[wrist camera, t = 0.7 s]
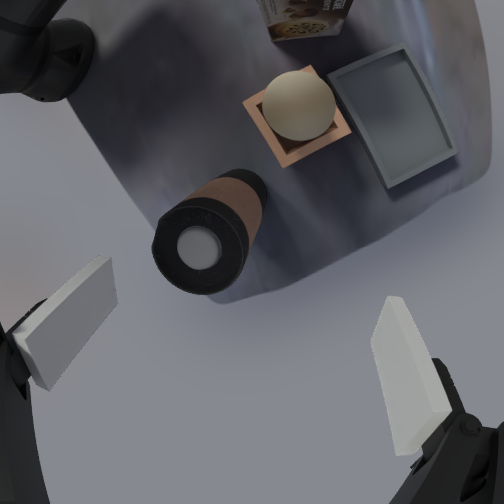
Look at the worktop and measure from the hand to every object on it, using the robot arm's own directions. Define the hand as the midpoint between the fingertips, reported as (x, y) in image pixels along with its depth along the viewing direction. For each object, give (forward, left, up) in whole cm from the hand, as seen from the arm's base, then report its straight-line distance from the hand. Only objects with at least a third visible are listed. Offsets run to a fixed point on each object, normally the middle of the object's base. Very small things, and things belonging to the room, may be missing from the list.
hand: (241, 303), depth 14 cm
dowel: (-6, +7, -28) cm, 29 cm away
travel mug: (-1, -5, -29) cm, 29 cm away
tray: (-1, +19, -29) cm, 34 cm away
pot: (-6, +7, -29) cm, 30 cm away
